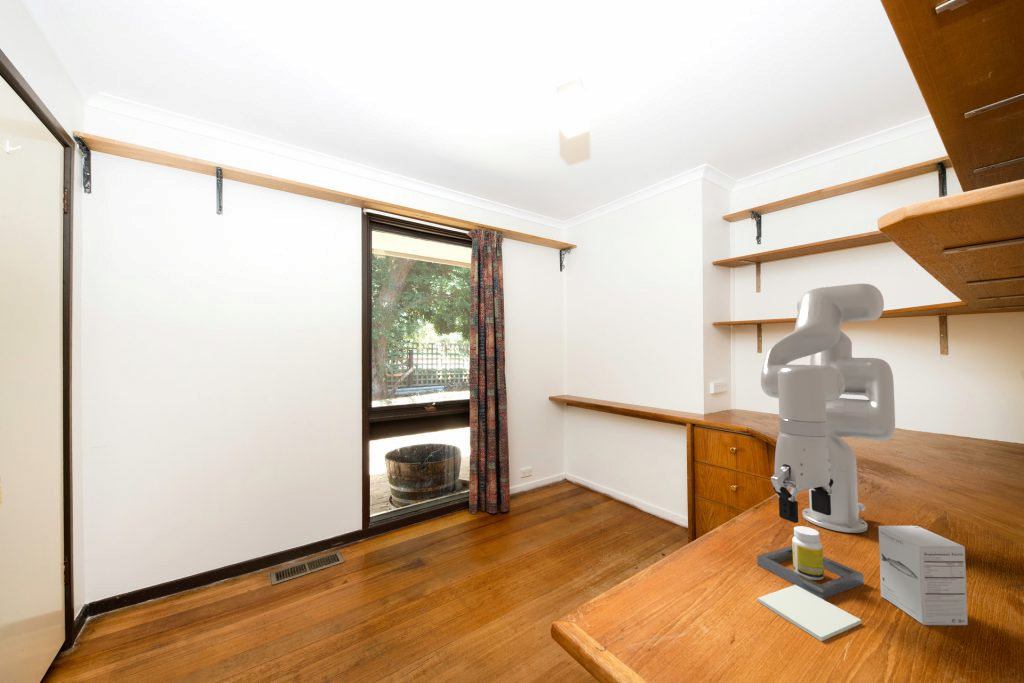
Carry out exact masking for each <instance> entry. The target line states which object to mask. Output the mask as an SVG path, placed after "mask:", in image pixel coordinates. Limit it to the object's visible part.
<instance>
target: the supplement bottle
mask: <svg viewBox="0 0 1024 683" xmlns="http://www.w3.org/2000/svg"><path fill="white" fill-rule="evenodd" d="M793 535H794V536H793V537H791V538H792V539H791V543H792V544H791V546H792V549H793V558H792V567H793V569H792V570H793V571H794V572H796V573H798V574H800V575H802V576H804V577H806V578H808V579H810V580H812V581H820V580H823V579H824V578H825V575H824V574H825V573H824V568H823V556H824V549H823V545H822V544H823V543H821V542H820V541H821V537H820V536H821V535H820V532H819V531H818V530H817V529H814V528H811V527H808V526H801V525H800V526H799V525H798V526H794V527H793Z"/></svg>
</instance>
